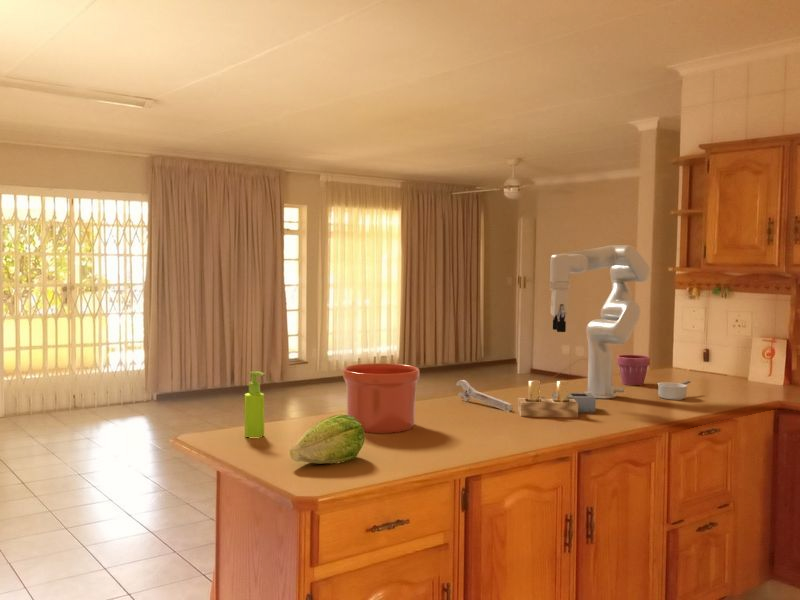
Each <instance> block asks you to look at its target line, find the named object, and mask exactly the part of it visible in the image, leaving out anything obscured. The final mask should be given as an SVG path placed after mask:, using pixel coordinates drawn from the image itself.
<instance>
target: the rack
mask: <svg viewBox="0 0 800 600" xmlns="http://www.w3.org/2000/svg"><path fill="white" fill-rule="evenodd" d="M517 399H518V401H517V402H518V405H517V406H518V407H517V408H518V409H517V412H518V414H519V416H520V417H537V418H540V417H541V418H579V412H578V403H577V402H576V401H575V400H574V399H568V403H560V402H556V399H552V398H547V399H541V397H539V402H528V397H527V398H525V397H518V398H517Z"/></svg>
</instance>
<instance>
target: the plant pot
mask: <svg viewBox="0 0 800 600" xmlns="http://www.w3.org/2000/svg"><path fill="white" fill-rule="evenodd" d="M616 357H617V358H616V363H617V365H618V368H619V373H620V378H621V383H622V385H625V384H627V385H626V386H632V385H640V386H644V385H645V379H646V375H647V371H648V367H649V366H650V365H651V363H650V362H651V361H650V360H651V359H650V358H651V357H650V356H648V355H642V354H641V355H640V354H620V355H619V354H618V355H617V356H616Z"/></svg>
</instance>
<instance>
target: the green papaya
mask: <svg viewBox="0 0 800 600" xmlns="http://www.w3.org/2000/svg"><path fill="white" fill-rule="evenodd" d="M364 443H365V432H364V430H363V427H362V424H361V423H360V422H359V421H358V420H357V419H356V418H354V417H352V416H348V415H347V414H335V415H334V414H333V415H331V416H330V417H326V418H324V419H322V420H320V421H319V422H318V423H316V424H314V425H313V426H311V427H310V428H309V429H307V430H306V431H305V432H304V434H302V436H301V437H300V438H299V439H298V441H297V442H296V444H295V445H294V446H293V447H291V448H290V450H289V455H290V458H291V460H292V461H294V462H304V463H310V464H318V465H320V464H333V463H337V464H339V463H338V462H342V461H347V460H350V461H352V460H354V459H356V458H357V456H358V455H359V453H360V452H361V450H362V448H363V445H364ZM351 459H352V460H351ZM347 462H348V461H347ZM342 463H343V462H342Z"/></svg>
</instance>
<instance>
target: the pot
mask: <svg viewBox="0 0 800 600" xmlns="http://www.w3.org/2000/svg"><path fill="white" fill-rule="evenodd" d="M342 376H343V380H344V381H345V386H346V388H345V390H346V415H348V416H352V417H354V418H356V419H357V420H358V421H359V422H360V423H361V424H362V427H363V430H364V433H368V432H369V433H371V434H392V433H393V432H395V433H402V432H405V431H409V430H411V429H412V428H413V427H414V425H415V415H416V397H417V395H416V394H417V383H418V381H419V379H420V369H419V368H418V366H417V367H416V366H414V365H411V364H409V365H408V364H401V363H381V362H379V363H359V364H353V365H348V366H347V365H346V366H345V367H344V368H343V370H342ZM401 431H402V432H401Z"/></svg>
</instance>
